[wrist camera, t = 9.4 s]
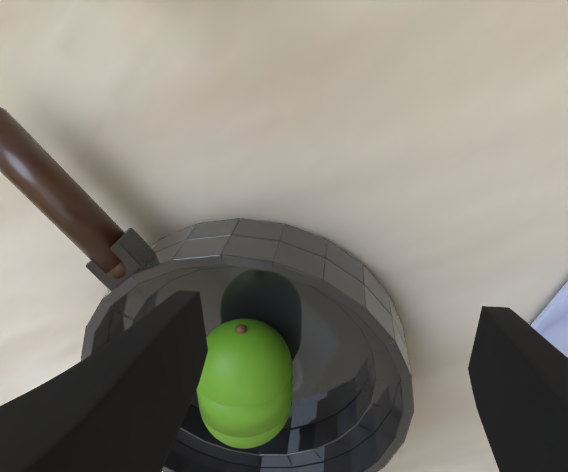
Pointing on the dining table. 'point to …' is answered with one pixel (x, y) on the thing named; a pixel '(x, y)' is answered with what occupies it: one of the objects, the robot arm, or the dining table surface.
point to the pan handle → (69, 206)
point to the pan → (297, 334)
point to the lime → (245, 383)
